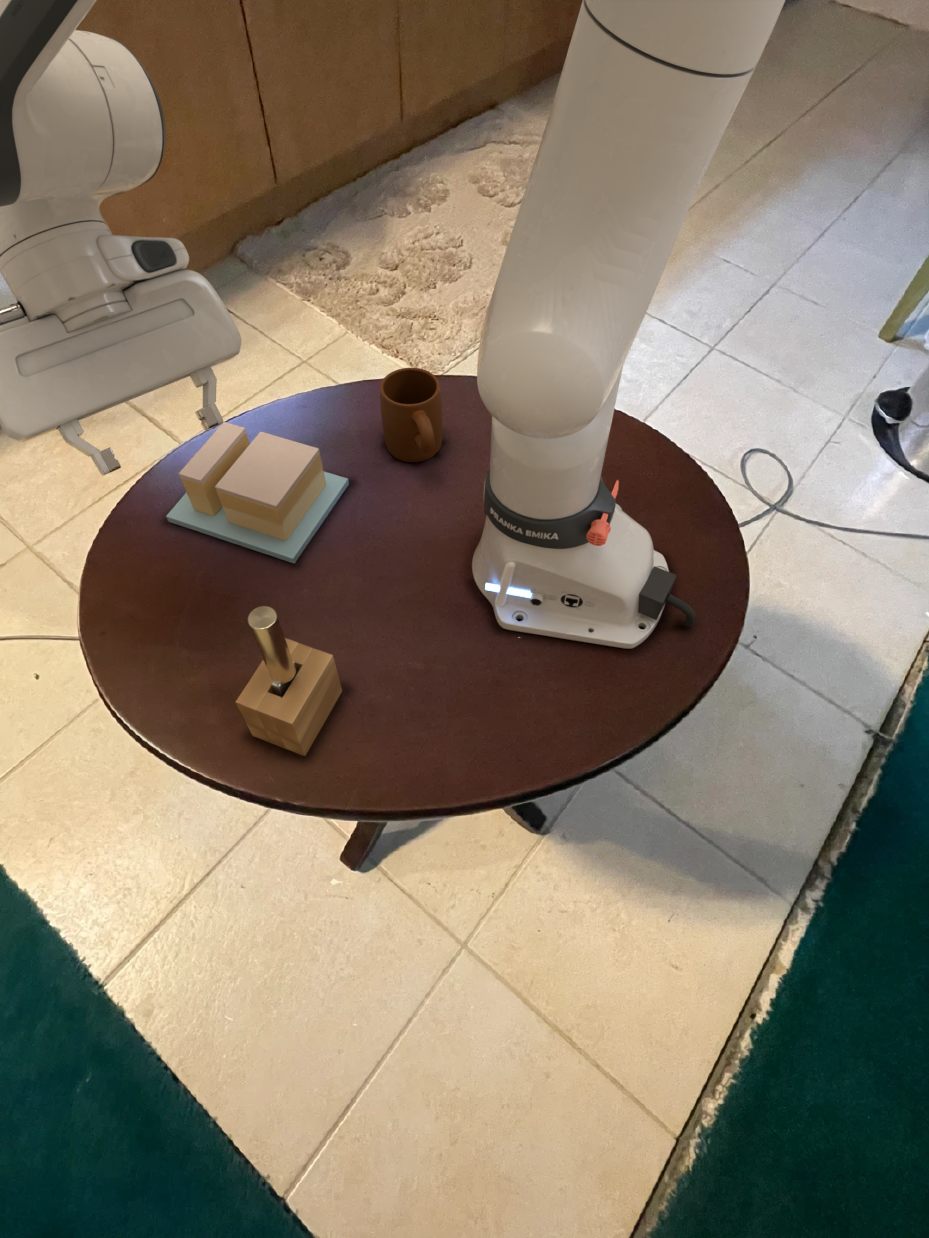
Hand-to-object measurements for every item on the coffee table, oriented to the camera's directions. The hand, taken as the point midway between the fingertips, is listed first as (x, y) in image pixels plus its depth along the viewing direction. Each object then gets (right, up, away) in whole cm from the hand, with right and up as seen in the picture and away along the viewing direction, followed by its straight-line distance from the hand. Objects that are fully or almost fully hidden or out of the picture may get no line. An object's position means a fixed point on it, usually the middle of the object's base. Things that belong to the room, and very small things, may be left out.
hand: (164, 448), depth 65 cm
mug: (+19, +7, +35) cm, 40 cm away
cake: (+1, 0, +30) cm, 30 cm away
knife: (+8, -24, +13) cm, 29 cm away
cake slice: (-4, +2, +30) cm, 31 cm away
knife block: (+8, -24, +13) cm, 29 cm away
